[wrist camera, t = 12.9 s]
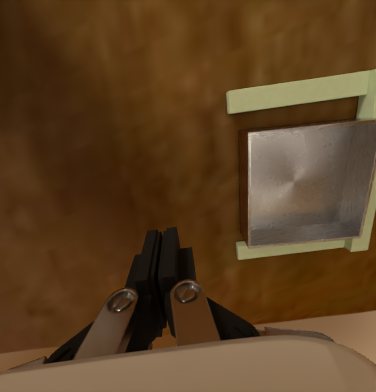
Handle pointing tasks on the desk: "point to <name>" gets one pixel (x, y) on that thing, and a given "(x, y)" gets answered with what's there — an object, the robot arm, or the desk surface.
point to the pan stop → (299, 94)
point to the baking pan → (306, 181)
